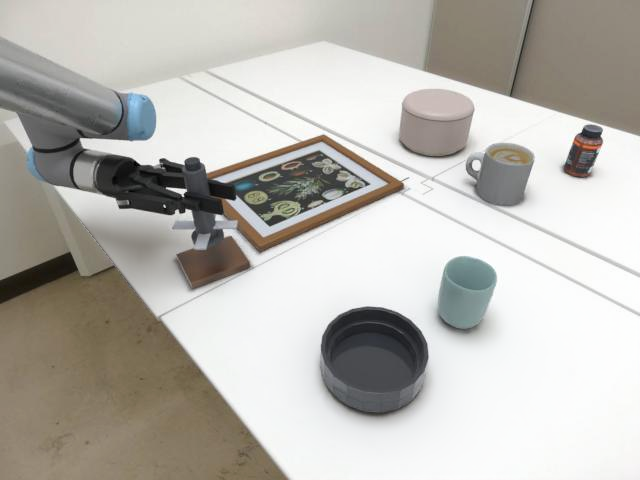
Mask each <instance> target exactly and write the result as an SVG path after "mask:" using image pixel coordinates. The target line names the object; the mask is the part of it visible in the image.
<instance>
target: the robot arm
mask: <svg viewBox="0 0 640 480" xmlns="http://www.w3.org/2000/svg"><path fill="white" fill-rule="evenodd" d="M0 109H1V110H5V111H8V112H12V113H15V114H16V115H17V117H18V118H19V119H18V120H19V121H20V123H21V125H22V127H23V129H24V131H25V133H26V136H27V138H28V140H29V142H30V144H31V146H30V148H29V149H28V151H27V154H26V160H27V161H26V162H27V163H26V167H27V171H28V172H29V173H30V175H31V176H32V177H33V178H35V179H36V180H38V181H40V182H44V183H47V184H50V185H52V186H55V187H63V188H68V189H74V190H77V191H81V192H87V193H91V194H96V195H100V196H105V197H108V198H112V199H115V201H116V204H117V206H118V209H119V210H129V209H130V210H132V209H133V210H138V211H142V212H148V213H154V214H160V215H165V216H174V215H175V214H176V211H178V214H179V215H183V214H185V213H186V211H191V210H192V211H204V212H208V213H213V214H216V216H223V215H224V214H223V213H224V210H223V204H222V199H220V198H223V199H227V200H232V201H235V200H236V199H237V198H236V191H235V185H232V184H227V183H222V182H219V181H217V180H212V179H208V184H209V190H210V195H211V196H213V197H210V196H205V195H200V194H196V193H191V192H187V191H185V192H184V193H183V194H182V193H179V192H176V191H174V190H171V189H180V190H186V185H185V181H184V177H183V172H182V167H183V166H184V165H185V164H183V163H178V162H173V161H170V160H169V159H167V158H165V157H163V158H159V159H158V162H159V163H158V164H157V163H156V164H155V165H151V164H141V163H139V162H138V161H137V160H136V159H134V158H132V157H130V156H126V155H121V154H116V153H115V154H114V153H111V152H106V151H100V150H95V149H90V148H84V147H83V144H82V141H81V139H88V140H89V139H90V140H93V139H94V140H95V139H96V140H114V141H127V142H128V141H129V142H136V141H137V142H143V141H145V142H146V141H148V140H151V138H152V137H153V136H154V134H155V132H156V129H157V112H156V108H155V105H154V103H153V101H152V100H151V98H150V97H149V96H148V95H145V94H142V93H141V94H140V93H134V92H126V93H125V92H119V91H117V90H114V89H112V88H109V87H108V86H106V85H104V84H101V83H99V82H97V81H95V80H93V79H91V78H88V77H87V76H84V75H82V74H80V73H78V72H76V71H74V70H72V69H70V68H68V67H66V66H64V65H63V64H59V63H57V62H55V61H53V60H51V59H50V58H47V57H45V56H43V55H41V54H39V53H37V52H34V51H33V50H30V49H28V48H26V47H24V46H22V45H20V44H18V43H16V42H14V41H12V40H9V39H8V38H5V37H3V36H2V35H0ZM215 197H218V198H215ZM192 211H191V212H192Z"/></svg>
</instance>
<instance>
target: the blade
mask: <svg viewBox="0 0 640 480" xmlns="http://www.w3.org/2000/svg"><path fill="white" fill-rule="evenodd" d="M183 163H184V164H183V165H184V166H183V167H182V172H183V177H184V181H185V185H186V189H185V190H186V192H191V193H196V194H200V195H205V196H210V197H211V195H210V190H209V184H208V179H207V174H206V173H207V169H206V165H205V164H204V163H203V162H201V159H200V157H197V156H190V157H188V158H186V159H184V161H183ZM190 212H191V215H192V216H191V217H192V219H193V220H175V221H174V223H173V225H172V230H173V231H174V230H176V231H177V230H179V231H180V230H182V231H183V230H184V231H185V230H193V231H192V233H191V241H192V244H193V245H194V247H193V248H194V250H206V249H207V248H212V247H215V246H217V245H219V244H220V243H221V242H222V241H223V239H224V238H225V233H224V230H237V229H238V228H237V224H238V220H233V221H230V220H216V217H217V214H213V213H208V212H204V211H192V210H190Z"/></svg>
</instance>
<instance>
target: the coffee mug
mask: <svg viewBox="0 0 640 480" xmlns="http://www.w3.org/2000/svg"><path fill="white" fill-rule="evenodd" d="M476 160H477V161H479V163H480V168H479V169H478V170H476V169H474V168H473V162H474V161H476ZM535 161H536V155H535V153H534V152H533V151H532V150H531V149H530V148H528V147H525V146H524V145H521V144H517V143H512V142H496V143H495V142H494V143H491V144H489V145H488V146H487V147H486V149H485V151H484V152H480V151H479V152H477V151H476V152H472V153H470V154H469V156H468V157H467V159H466V162H465V171H466V173H467V175H468V176H470V177H471V178H472V179H474V180H475V181H476V188H475V189H476V190H475V191H476V194H477V196H478V197H479V198H480V199H482V200H483V201H484V202H485V201H486V202H487V203H490V204H492V205H495V206H496V205H497V206H513V205H516V204H519V203H520V202H521V201H522V200H523V198H524V195H525V194H524V193H525V190H526V187H527V185H528V182H529V179H530V175H531V173H532V169H533V166H534V163H535Z"/></svg>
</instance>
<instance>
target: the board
mask: <svg viewBox="0 0 640 480" xmlns="http://www.w3.org/2000/svg"><path fill="white" fill-rule="evenodd" d="M175 255H176V259H177V260H176V261H177V262H178V264H179V266H180V267H181V269H182V272H183V273H184V275H185V277H186V279H187V281H188V284H189V286H190V287H191V290H195V289H197V288H200V287H202V286H206V285H208V284H210V283H213V282H216V281H218V280H221V279H224V278H226V277H229V276H232V275H234V274H237V273H240V272H243V271H246V270H248V269H251V262H250V261H249V259H248V258H247V256H246V255H245V253H244V251H243V250H242V249H241V248H240V246H239V245H238V243H237V241H236V240H235V238H234V237H233V236H232V235H228V236H224V239H223V241H222V242H221V243H220V244H219V245H217V246H215V247H212V248H207V249H206V250H194V247H193V248H190V249H187V250H184V251H181V252H179V253H178V252H177V253H176V254H175Z"/></svg>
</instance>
